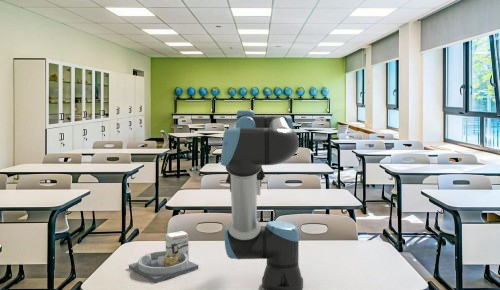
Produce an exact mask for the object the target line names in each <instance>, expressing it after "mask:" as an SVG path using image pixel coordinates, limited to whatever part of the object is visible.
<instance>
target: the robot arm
mask: <svg viewBox="0 0 500 290" xmlns="http://www.w3.org/2000/svg"><path fill="white" fill-rule="evenodd" d="M255 113H256V112H255V111H254V110H251V109H248V110H247V109H244V110H242V109H241V110H237V112H236V121H235V128H231V127H230V128H226V129H225V130H224V132H223V136H222V145H221V154H220V155H221V157H220V165H221V166H224V167H225V170H226V171H227V173H228V174H227V177H226V180H225V182H226V184H229V190H230V191H229V192H230V196H231V198H230V199H231V221H230V222H229V224H228V226H226V227H225V228H224V235H223V236H224V237H223V239H224V247H225V253H226V256H227V257H228V258H229V259H233V260H239V261H240V260H266V266H265V269H264V273H263V275H262V279H261V286H262V287H261V288H262V289H264V290H302V289H303V288H304V278H303V276H302V273H301V270H300V264H299V241H300V236H299V229H298V227H297V226H296V225H295V224H293V223H290V222H288V221H287V222H286V221H281V220H272V221H271V220H269V221H267V222H266V225H265V226H264V225H261V224H260V221H258V220H257V216H258V215H257V213H258V212H257V211H258V207H257V203H258V200H257V198H258V196H261V187H262V181H263V180H264V178H266V175H265V173H264V169H263V166H275V165H280V164H283V163H284V162H286V161H288V160H290V159H291V158H292V157H294V156H295V154H296V153H297V152H298V149H299V146H300V141H299V137H298V134H297V132H295V130H294V127H293V124H294V123H293V118H292V116H290V115H255Z"/></svg>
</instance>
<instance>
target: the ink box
mask: <svg viewBox="0 0 500 290" xmlns="http://www.w3.org/2000/svg"><path fill="white" fill-rule="evenodd" d="M189 248H190V247H189V233H187V232H186V231H184V230H180V231H175V232H169V233H166V234H165V251H166V255H167V254H168V252H167V250H169V254H176V255H178V260H180V259H181V253H184V254H186V255H187V256H188V261H190V255H189Z"/></svg>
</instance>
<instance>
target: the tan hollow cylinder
mask: <svg viewBox="0 0 500 290" xmlns="http://www.w3.org/2000/svg"><path fill="white" fill-rule="evenodd" d="M169 257H172V258H169ZM177 264H178V255H176V254H167V255H165V256H164V267H168V266H174V265H177Z"/></svg>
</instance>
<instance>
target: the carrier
mask: <svg viewBox="0 0 500 290" xmlns="http://www.w3.org/2000/svg"><path fill="white" fill-rule="evenodd" d="M167 252H168V254H169V250H167ZM165 255H166V250H161V251H160V250H159V251H153V252H149V253H146V254H144V255H142V256H140V257H139V258H138V260H137V261H136V262H134V263H130V264H128V269H129V270H131V271H134V272H135V273H137V274H138V275H141V276H143V277H145V278H147V279H148V280H150V281H151V282H154V283H155V284H156V283H159V282H161V281H165V280H168V279H170V278H171V279H172V278H174V277H177V276H180V275H184V274H187V273H190V272H193V271H195V270H199V264H197V263H195V262H192V261H190V260H188V256H187V255H186V254H184V253H181V259H180V260H178V264H177V265H174V266H168V267H164V256H165ZM169 258H172V257H169Z"/></svg>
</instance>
